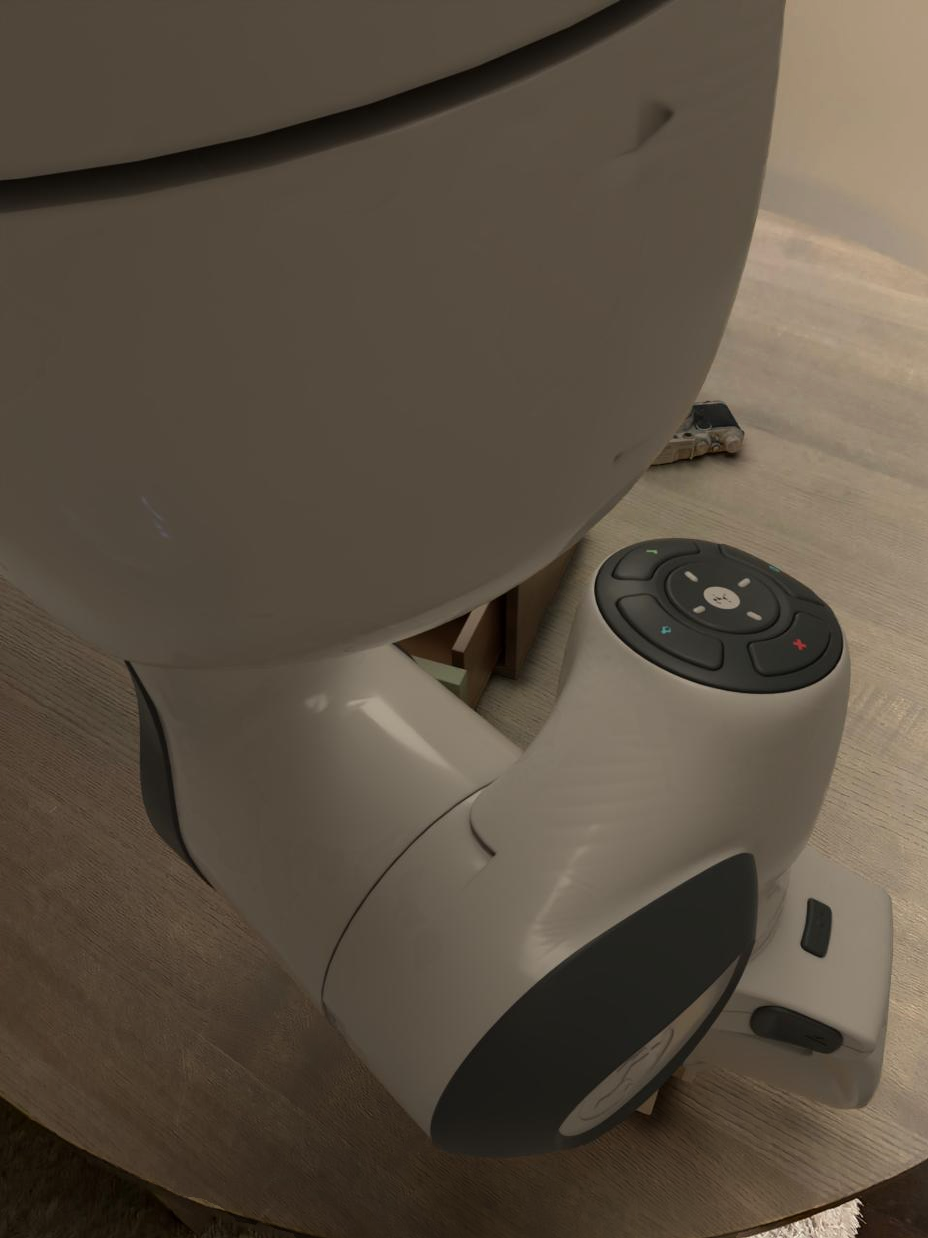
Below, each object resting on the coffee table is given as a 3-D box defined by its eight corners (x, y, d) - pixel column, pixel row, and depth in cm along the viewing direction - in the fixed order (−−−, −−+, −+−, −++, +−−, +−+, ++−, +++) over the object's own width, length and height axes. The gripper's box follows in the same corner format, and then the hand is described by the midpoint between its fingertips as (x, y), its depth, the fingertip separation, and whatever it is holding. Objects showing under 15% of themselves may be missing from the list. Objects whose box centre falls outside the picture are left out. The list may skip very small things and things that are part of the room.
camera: (748, 456, 84) (758, 413, 81) (623, 469, 83) (628, 425, 80) (728, 420, 88) (737, 377, 85) (608, 432, 87) (612, 389, 84)
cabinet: (515, 679, 68) (519, 578, 62) (341, 631, 71) (326, 530, 65) (579, 540, 78) (587, 439, 71) (422, 503, 81) (416, 404, 74)
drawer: (431, 831, 59) (425, 753, 54) (253, 774, 62) (231, 695, 57) (532, 613, 71) (536, 532, 66) (379, 574, 74) (371, 493, 69)
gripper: (372, 878, 41) (394, 1027, 50) (925, 1065, 35) (828, 1191, 45) (433, 755, 45) (442, 915, 55) (936, 906, 39) (846, 1053, 49)
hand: (620, 1041), depth 50 cm, fingers closed on block, 4 cm apart
